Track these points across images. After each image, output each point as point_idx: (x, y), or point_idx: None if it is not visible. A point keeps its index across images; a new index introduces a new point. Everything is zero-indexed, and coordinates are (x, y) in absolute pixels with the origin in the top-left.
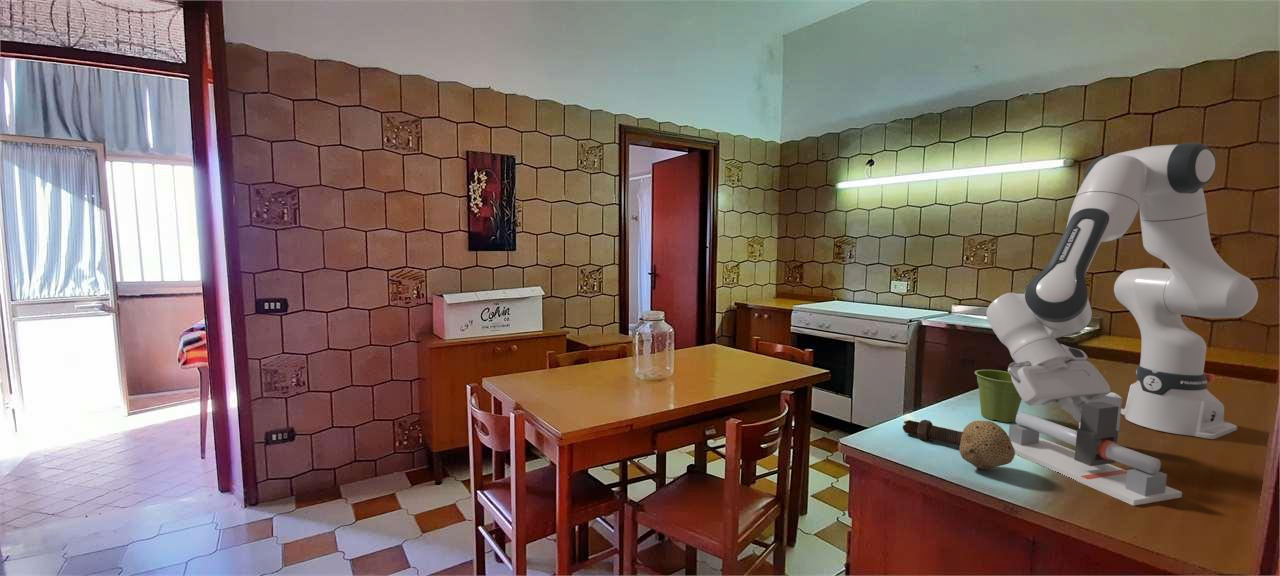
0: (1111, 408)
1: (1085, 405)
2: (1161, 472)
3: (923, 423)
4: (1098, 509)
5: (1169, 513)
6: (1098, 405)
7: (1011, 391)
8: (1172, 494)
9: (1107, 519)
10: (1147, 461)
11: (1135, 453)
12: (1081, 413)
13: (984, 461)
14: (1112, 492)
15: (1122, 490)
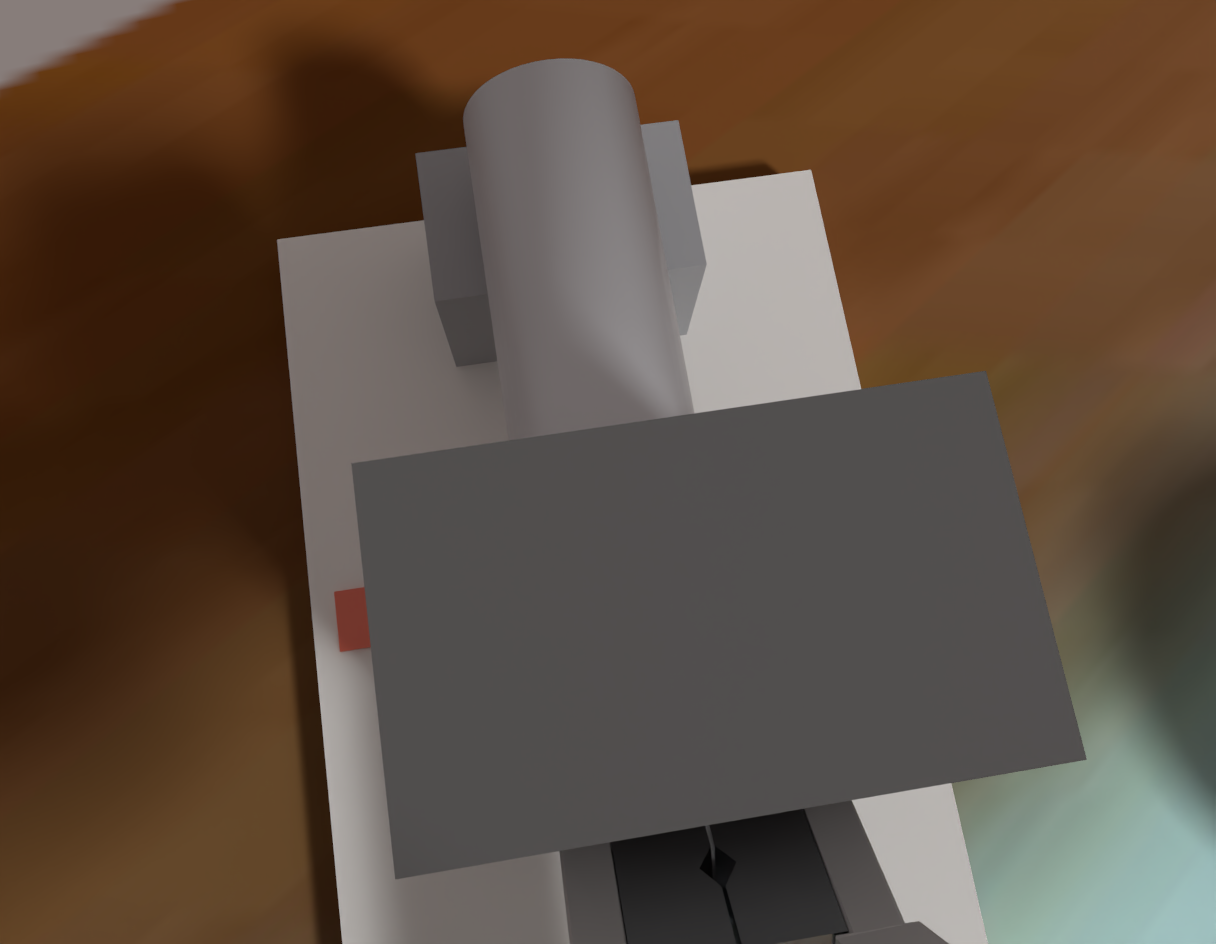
0: (591, 435)
1: (1048, 688)
2: (424, 189)
3: None
4: (1101, 176)
5: (645, 86)
6: (793, 581)
7: None
8: (386, 230)
9: (1149, 67)
10: (623, 97)
11: (608, 214)
12: (862, 861)
13: None
14: (838, 307)
15: (745, 307)
